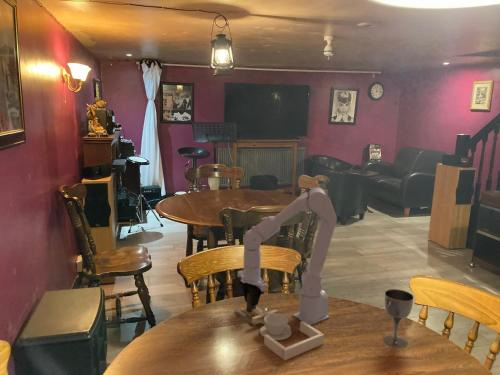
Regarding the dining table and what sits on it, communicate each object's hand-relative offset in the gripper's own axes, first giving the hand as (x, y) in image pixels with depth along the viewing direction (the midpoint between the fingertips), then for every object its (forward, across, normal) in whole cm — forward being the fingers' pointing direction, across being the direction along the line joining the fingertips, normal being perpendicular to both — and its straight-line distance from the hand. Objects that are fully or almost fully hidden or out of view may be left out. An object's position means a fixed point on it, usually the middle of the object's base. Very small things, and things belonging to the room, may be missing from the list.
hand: (251, 303), depth 137 cm
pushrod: (+4, +3, 0) cm, 5 cm away
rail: (+4, +2, 0) cm, 4 cm away
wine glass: (+4, +38, +27) cm, 47 cm away
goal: (+4, +22, 0) cm, 22 cm away
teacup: (+4, +14, 0) cm, 15 cm away
